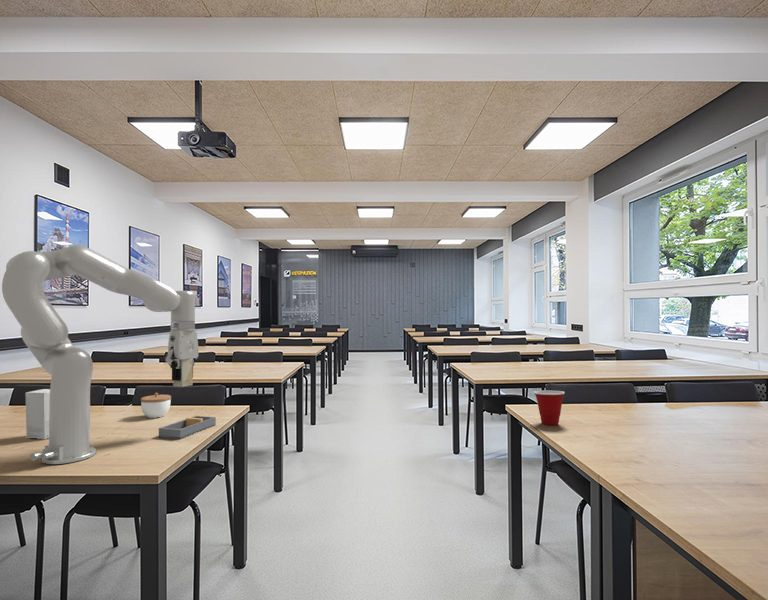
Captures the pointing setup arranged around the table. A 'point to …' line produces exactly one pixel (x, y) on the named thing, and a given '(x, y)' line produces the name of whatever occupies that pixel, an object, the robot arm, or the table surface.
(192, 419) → the block
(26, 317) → the robot arm
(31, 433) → the skincare box
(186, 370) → the box
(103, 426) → the table surface
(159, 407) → the lidded jar
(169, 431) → the gray tray
